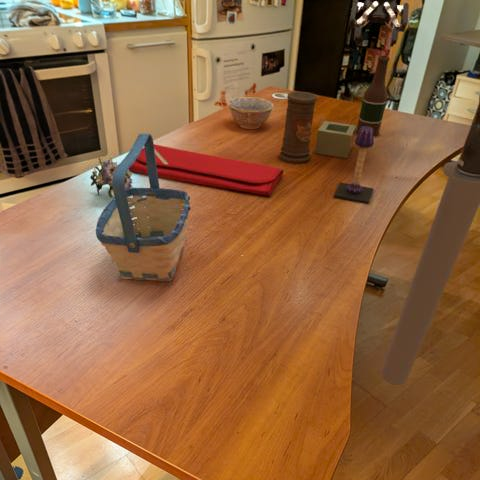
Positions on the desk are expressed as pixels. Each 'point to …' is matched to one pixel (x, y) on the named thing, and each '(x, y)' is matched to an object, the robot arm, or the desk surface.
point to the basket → (144, 222)
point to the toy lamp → (361, 156)
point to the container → (298, 127)
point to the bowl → (250, 111)
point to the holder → (335, 139)
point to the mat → (362, 197)
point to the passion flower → (108, 176)
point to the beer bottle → (375, 98)
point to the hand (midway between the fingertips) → (375, 43)
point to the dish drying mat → (211, 170)
